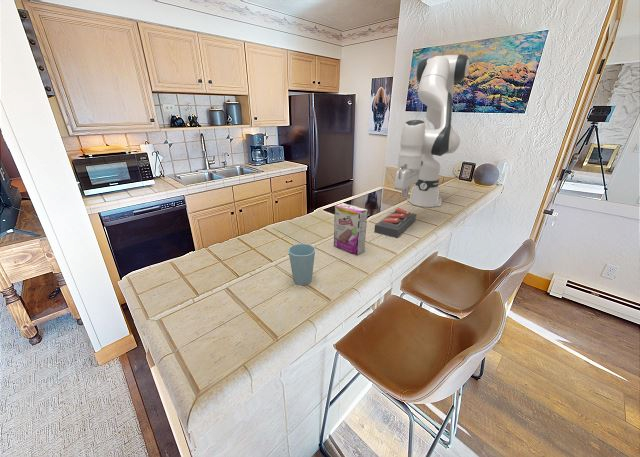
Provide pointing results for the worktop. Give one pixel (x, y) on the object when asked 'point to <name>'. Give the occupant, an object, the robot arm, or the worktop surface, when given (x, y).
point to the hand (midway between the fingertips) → (404, 196)
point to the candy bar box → (350, 228)
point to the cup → (302, 263)
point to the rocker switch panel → (395, 225)
